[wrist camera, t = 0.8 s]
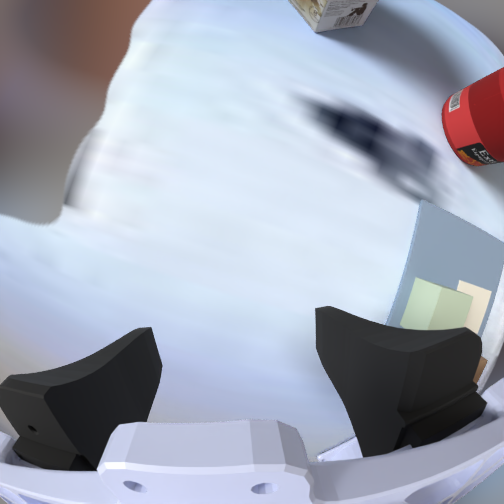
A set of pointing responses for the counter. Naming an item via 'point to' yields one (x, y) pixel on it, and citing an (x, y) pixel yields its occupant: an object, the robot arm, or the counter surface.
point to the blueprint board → (452, 263)
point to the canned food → (477, 121)
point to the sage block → (435, 307)
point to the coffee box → (333, 13)
